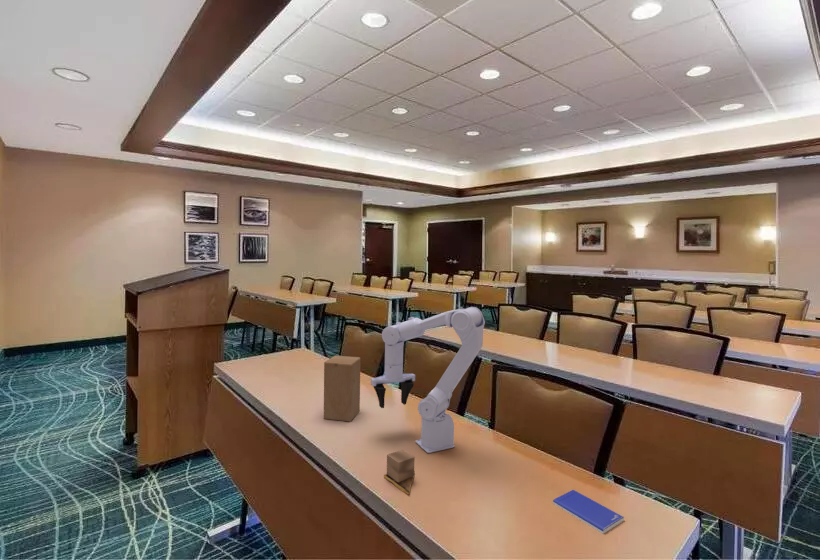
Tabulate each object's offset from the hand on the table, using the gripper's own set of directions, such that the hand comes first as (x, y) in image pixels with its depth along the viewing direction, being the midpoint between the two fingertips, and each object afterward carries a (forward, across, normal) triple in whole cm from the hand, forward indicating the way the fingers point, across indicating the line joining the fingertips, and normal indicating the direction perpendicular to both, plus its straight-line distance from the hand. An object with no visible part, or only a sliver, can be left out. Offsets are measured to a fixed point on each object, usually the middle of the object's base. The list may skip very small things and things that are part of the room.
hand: (392, 405), depth 130 cm
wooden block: (+10, +10, -21) cm, 25 cm away
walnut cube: (+8, +9, +25) cm, 28 cm away
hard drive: (+10, -24, +54) cm, 60 cm away
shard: (+10, +8, +25) cm, 28 cm away
